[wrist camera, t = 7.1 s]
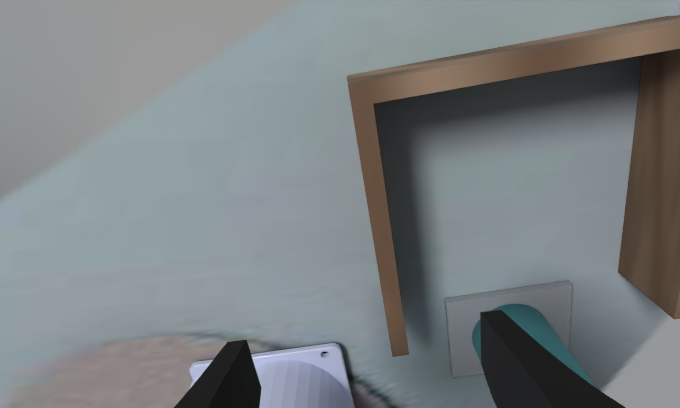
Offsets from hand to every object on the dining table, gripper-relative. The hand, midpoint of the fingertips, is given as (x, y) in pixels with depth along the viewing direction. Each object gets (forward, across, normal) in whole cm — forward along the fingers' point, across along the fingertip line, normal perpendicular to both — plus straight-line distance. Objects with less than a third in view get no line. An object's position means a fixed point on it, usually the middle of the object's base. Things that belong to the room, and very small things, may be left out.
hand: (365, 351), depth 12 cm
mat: (+9, -8, +9) cm, 15 cm away
